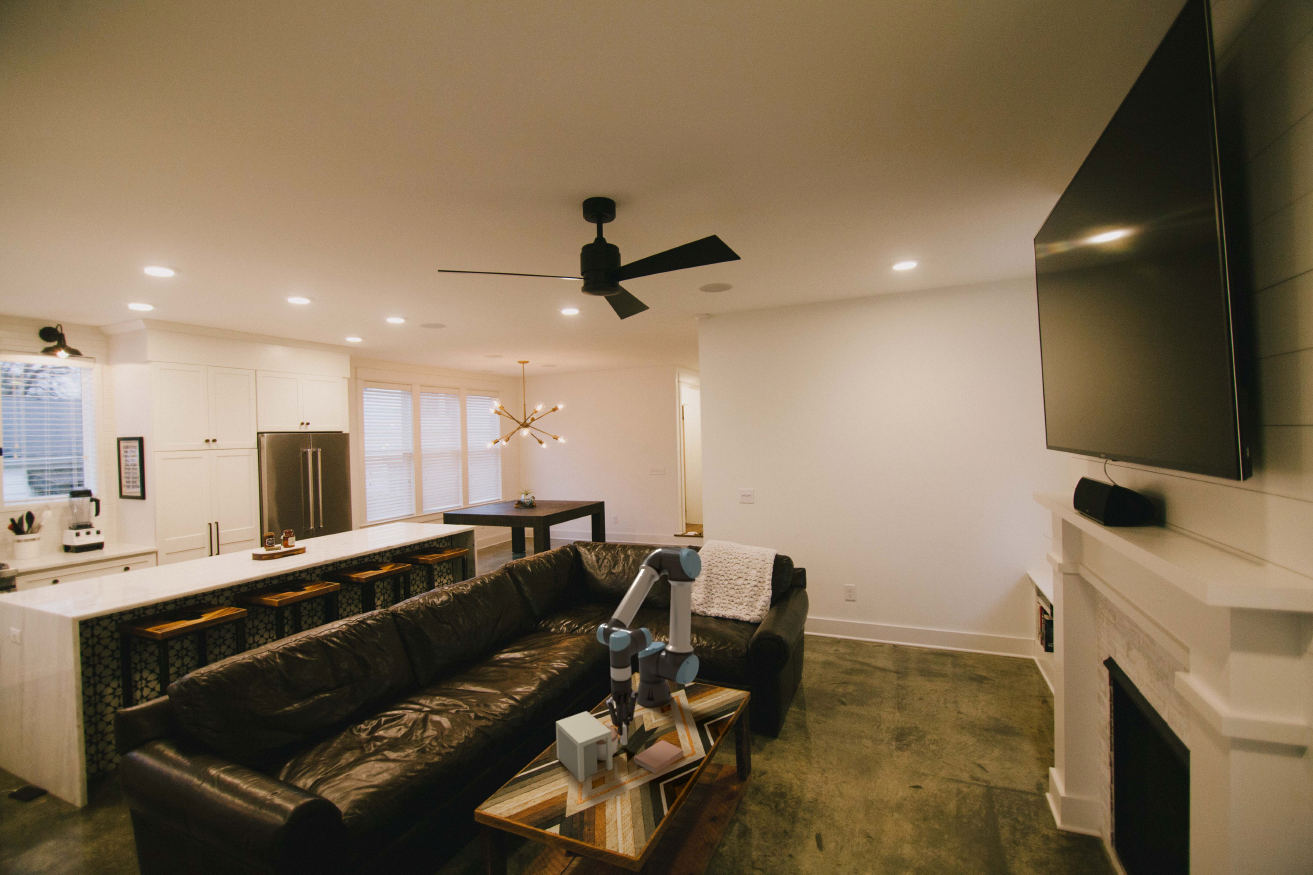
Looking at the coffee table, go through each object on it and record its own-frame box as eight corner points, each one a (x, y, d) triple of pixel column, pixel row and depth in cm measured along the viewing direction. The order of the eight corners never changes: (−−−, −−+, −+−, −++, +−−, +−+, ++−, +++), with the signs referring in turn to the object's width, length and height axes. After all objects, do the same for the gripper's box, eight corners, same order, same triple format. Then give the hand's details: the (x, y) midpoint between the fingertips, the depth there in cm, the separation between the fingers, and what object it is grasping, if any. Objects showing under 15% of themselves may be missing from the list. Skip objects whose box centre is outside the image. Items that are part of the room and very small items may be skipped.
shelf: (587, 745, 195) (586, 710, 196) (612, 768, 181) (611, 730, 181) (557, 757, 188) (555, 721, 189) (580, 782, 174) (579, 743, 174)
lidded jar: (604, 767, 181) (603, 739, 181) (581, 757, 188) (580, 730, 188) (625, 752, 190) (624, 725, 190) (602, 743, 196) (601, 717, 196)
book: (662, 746, 194) (662, 739, 194) (683, 757, 187) (683, 749, 187) (634, 763, 184) (634, 756, 184) (655, 775, 177) (655, 767, 177)
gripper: (630, 668, 201) (633, 732, 200) (600, 678, 193) (602, 744, 193) (641, 675, 195) (644, 741, 194) (610, 685, 187) (613, 753, 187)
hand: (623, 742), depth 193 cm, fingers closed
